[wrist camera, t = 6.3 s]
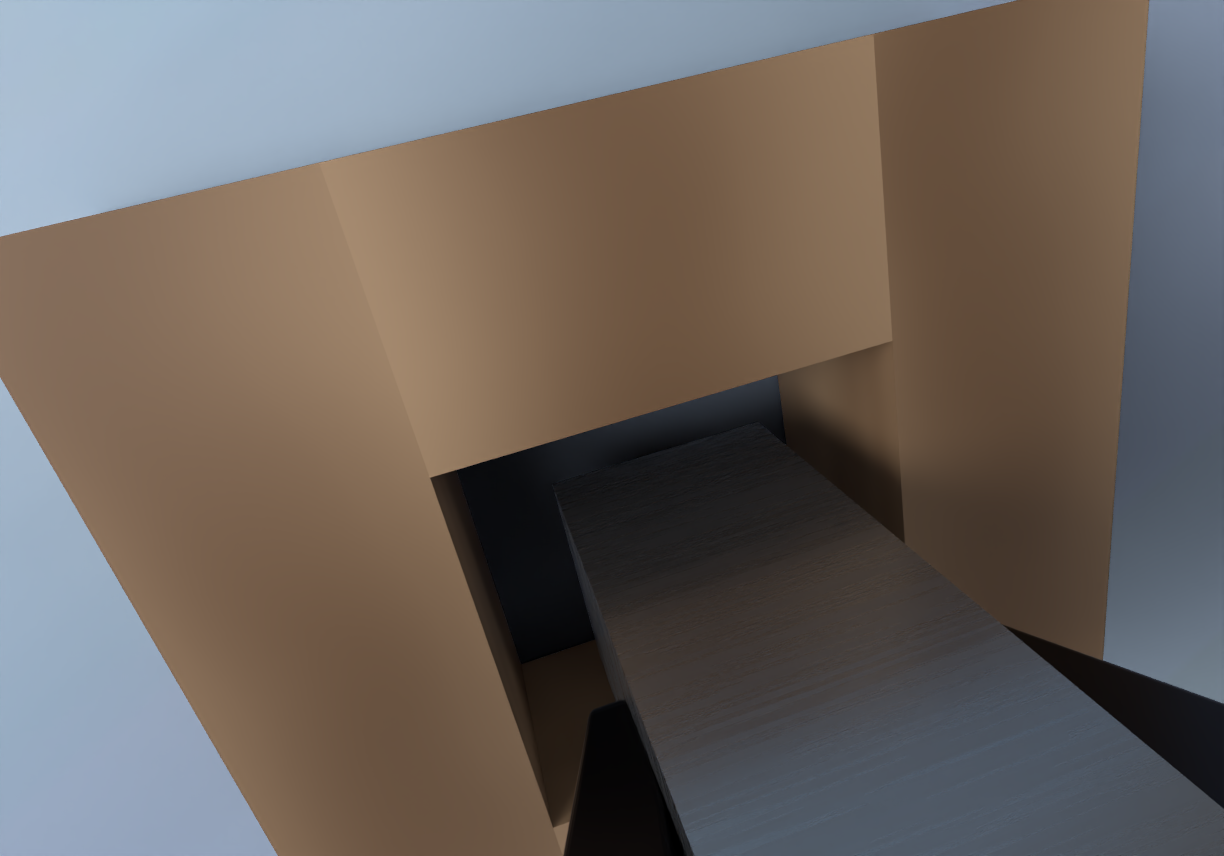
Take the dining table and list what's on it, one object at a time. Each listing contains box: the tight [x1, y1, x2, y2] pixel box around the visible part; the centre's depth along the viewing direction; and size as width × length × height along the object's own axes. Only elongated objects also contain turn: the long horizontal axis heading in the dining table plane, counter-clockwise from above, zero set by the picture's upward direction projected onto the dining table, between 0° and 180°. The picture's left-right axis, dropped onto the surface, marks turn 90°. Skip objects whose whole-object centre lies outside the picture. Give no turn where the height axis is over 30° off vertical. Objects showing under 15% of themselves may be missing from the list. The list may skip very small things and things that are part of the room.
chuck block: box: [0, 0, 1149, 856], centre depth 11 cm, size 12×12×4 cm
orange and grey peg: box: [552, 422, 1224, 856], centre depth 7 cm, size 3×3×8 cm
